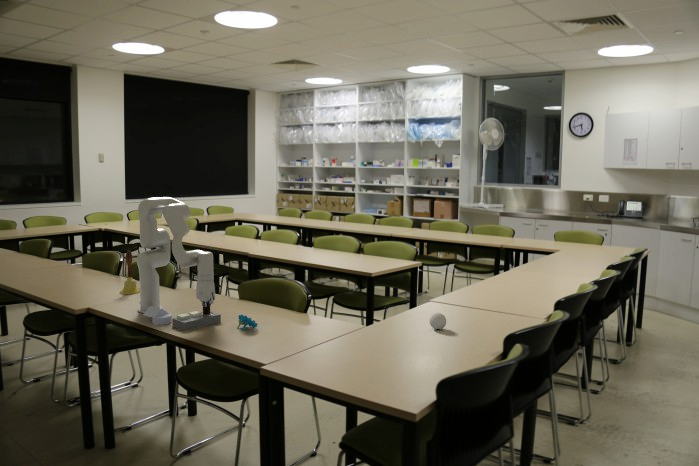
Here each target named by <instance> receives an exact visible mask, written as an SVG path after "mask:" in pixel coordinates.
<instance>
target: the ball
mask: <svg viewBox="0 0 699 466" xmlns="http://www.w3.org/2000/svg"><path fill="white" fill-rule="evenodd" d="M429 325H430V326H431V328H432V329H433V330H436V329H440V330H442V329H444V328H445V327H446V326H447V318H446V316H445V315H444V314H443V313H441V312H436V313H432V315H431V316H430V317H429Z"/></svg>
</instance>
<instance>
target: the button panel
mask: <svg viewBox="0 0 699 466" xmlns="http://www.w3.org/2000/svg"><path fill="white" fill-rule="evenodd" d="M200 312H201V313H203V311H200ZM210 313H211V314H208V315H203V314H202V316H199V317H195V318H193V317H190V319H186V320H179V319H177V316H176V317H172V327H173V328H176V329H177V330H180V331H183V332H186V331H191V330H195V329H199V328H204V327H207V326H212V325H216V324H220V323H222V318H221V317H222V314H220V313H218V312H214V311H211V310H210Z"/></svg>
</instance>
